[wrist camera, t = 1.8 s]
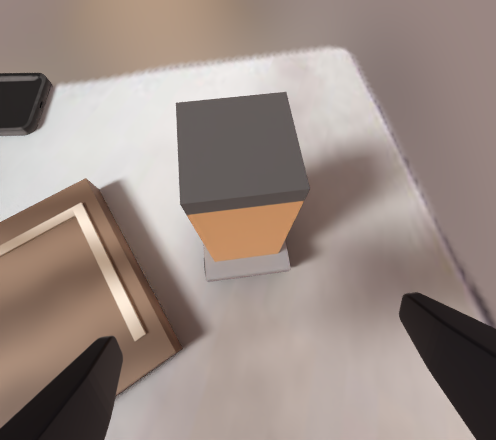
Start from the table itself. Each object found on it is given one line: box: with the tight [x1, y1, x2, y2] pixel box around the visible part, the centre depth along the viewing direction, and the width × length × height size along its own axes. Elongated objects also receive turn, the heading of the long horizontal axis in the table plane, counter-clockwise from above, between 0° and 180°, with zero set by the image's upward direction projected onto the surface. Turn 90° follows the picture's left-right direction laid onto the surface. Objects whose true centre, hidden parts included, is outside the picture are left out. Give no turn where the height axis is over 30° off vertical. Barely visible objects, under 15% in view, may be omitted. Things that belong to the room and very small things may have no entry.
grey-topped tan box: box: [176, 92, 310, 282], centre depth 16 cm, size 7×6×13 cm
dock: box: [0, 178, 183, 428], centre depth 19 cm, size 16×14×2 cm
